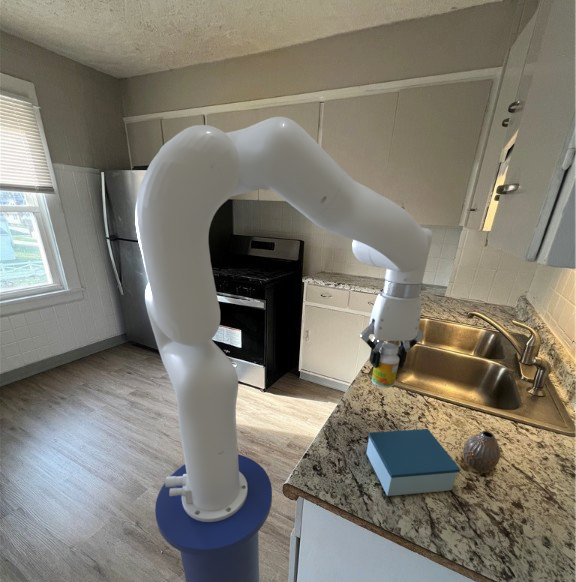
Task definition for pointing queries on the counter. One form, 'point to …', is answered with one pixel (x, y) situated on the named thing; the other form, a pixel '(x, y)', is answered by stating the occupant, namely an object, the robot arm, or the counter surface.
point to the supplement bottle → (386, 366)
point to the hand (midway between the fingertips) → (386, 364)
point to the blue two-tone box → (411, 462)
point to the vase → (482, 451)
